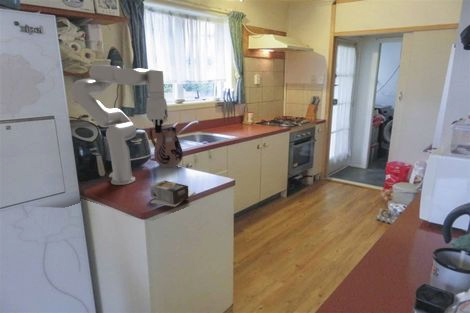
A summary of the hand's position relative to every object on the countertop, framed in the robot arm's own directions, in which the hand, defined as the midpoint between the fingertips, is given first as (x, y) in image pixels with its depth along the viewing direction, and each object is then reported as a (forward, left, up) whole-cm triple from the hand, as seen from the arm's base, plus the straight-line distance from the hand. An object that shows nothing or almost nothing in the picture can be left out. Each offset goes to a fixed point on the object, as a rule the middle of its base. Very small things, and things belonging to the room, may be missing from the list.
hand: (158, 132), depth 162 cm
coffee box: (+6, -13, -24) cm, 28 cm away
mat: (+15, -13, -28) cm, 34 cm away
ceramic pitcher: (-20, +32, -28) cm, 48 cm away
